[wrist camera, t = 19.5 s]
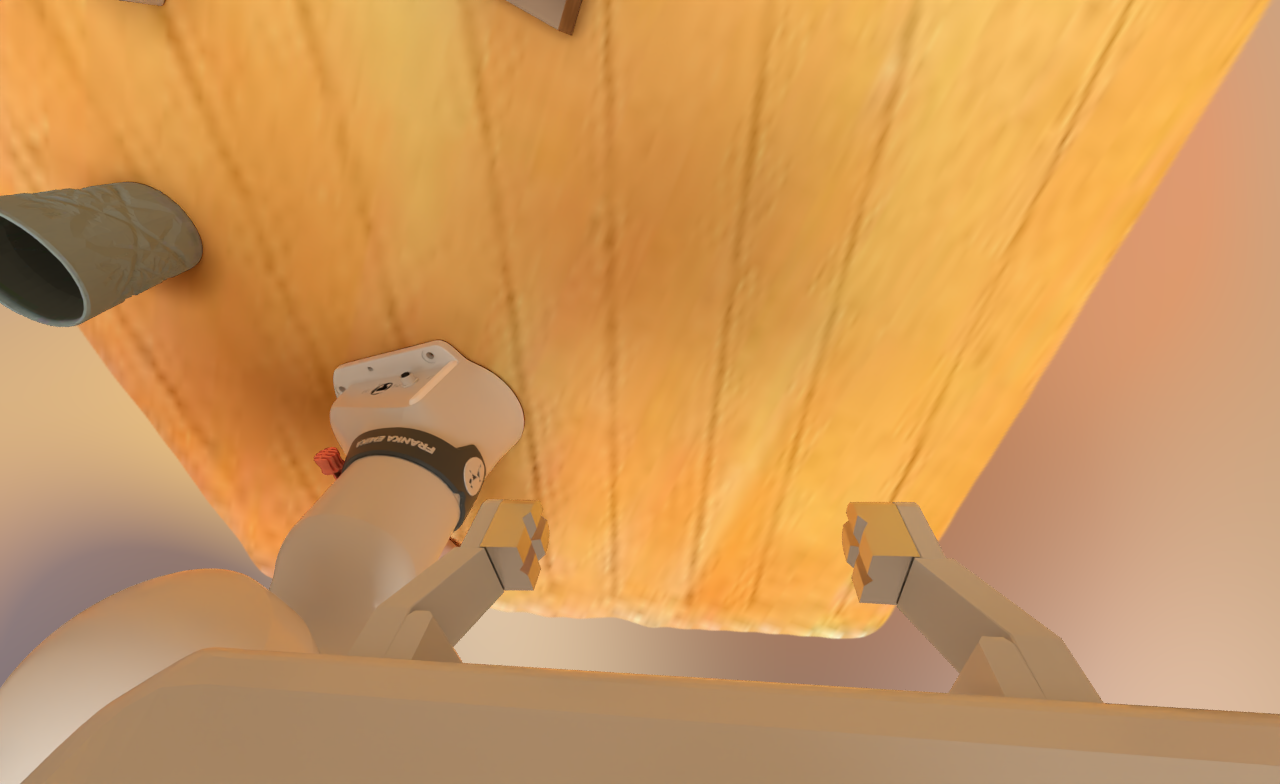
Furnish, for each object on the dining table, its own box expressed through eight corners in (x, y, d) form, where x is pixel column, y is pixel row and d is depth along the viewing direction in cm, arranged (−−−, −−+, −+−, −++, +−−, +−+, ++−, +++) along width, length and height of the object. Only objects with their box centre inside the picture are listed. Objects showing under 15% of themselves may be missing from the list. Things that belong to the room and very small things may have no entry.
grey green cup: (91, 154, 42) (-95, 177, 32) (206, 201, 43) (61, 236, 34) (119, 254, 48) (-32, 299, 38) (220, 292, 49) (99, 346, 39)
